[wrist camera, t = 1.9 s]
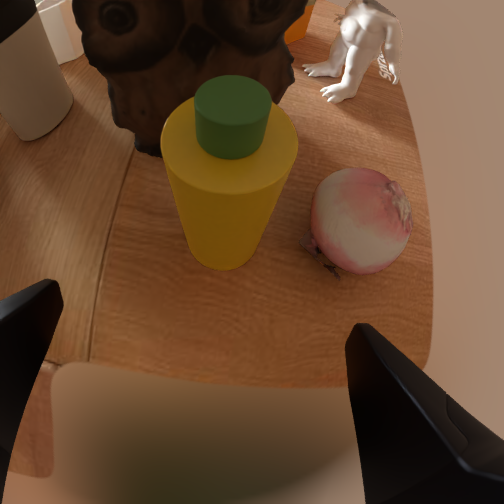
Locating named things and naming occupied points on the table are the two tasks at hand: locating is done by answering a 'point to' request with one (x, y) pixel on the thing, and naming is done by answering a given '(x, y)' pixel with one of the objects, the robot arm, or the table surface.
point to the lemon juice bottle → (227, 167)
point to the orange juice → (299, 25)
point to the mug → (61, 29)
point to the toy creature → (359, 47)
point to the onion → (358, 221)
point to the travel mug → (29, 73)
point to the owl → (182, 52)
